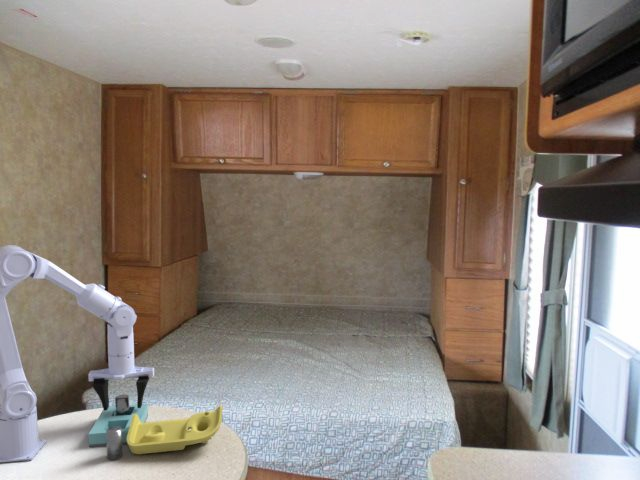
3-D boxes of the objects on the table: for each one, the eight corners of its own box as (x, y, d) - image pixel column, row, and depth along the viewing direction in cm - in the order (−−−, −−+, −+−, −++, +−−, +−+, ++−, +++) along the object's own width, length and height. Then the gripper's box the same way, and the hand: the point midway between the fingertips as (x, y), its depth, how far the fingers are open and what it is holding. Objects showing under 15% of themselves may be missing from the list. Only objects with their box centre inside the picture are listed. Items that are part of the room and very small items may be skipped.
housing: (89, 447, 109) (88, 434, 108) (105, 418, 122) (105, 406, 122) (137, 443, 110) (136, 430, 110) (147, 415, 124) (147, 403, 124)
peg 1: (105, 461, 103) (104, 433, 103) (109, 453, 106) (108, 426, 105) (120, 460, 104) (119, 432, 103) (124, 452, 107) (123, 425, 106)
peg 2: (115, 424, 118) (113, 400, 117) (118, 418, 121) (117, 394, 120) (128, 423, 118) (126, 399, 118) (131, 417, 121) (129, 394, 121)
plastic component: (124, 447, 103) (134, 408, 112) (132, 468, 107) (141, 429, 116) (220, 437, 105) (223, 399, 113) (225, 458, 108) (227, 420, 117)
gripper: (83, 359, 113) (86, 417, 114) (150, 356, 115) (151, 412, 117) (92, 349, 120) (94, 404, 121) (155, 347, 122) (156, 400, 124)
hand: (123, 407), depth 119 cm, fingers open, 7 cm apart
